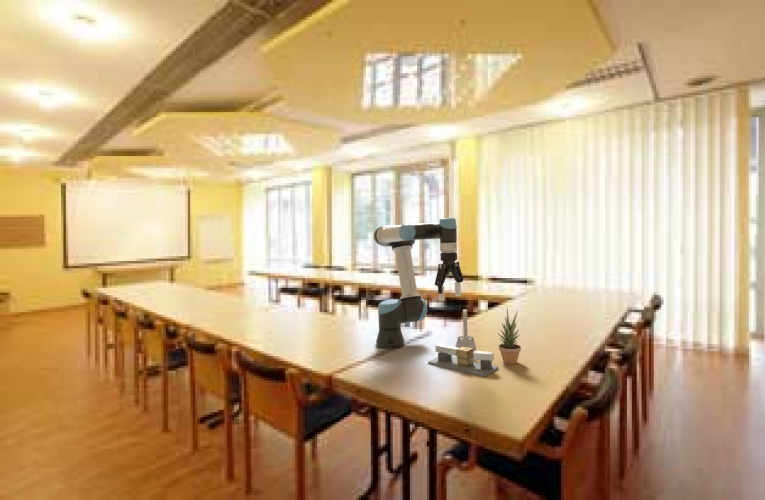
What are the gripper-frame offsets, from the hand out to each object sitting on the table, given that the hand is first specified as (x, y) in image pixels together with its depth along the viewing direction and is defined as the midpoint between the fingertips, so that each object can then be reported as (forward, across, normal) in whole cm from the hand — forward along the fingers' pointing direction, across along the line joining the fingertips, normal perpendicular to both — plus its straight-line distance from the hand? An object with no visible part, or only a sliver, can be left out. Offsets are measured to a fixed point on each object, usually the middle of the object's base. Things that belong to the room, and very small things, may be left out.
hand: (449, 298), depth 187 cm
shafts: (+24, -3, -9) cm, 26 cm away
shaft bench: (+29, -4, -8) cm, 30 cm away
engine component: (+29, +16, +2) cm, 33 cm away
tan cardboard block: (+28, -4, -10) cm, 30 cm away
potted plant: (+29, +13, -22) cm, 39 cm away
